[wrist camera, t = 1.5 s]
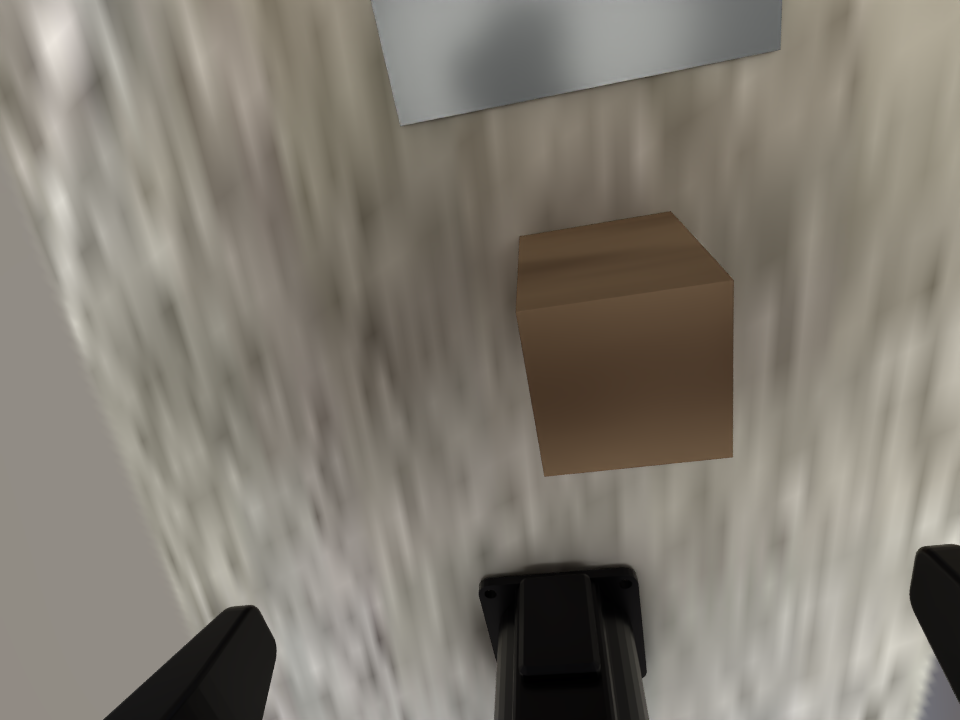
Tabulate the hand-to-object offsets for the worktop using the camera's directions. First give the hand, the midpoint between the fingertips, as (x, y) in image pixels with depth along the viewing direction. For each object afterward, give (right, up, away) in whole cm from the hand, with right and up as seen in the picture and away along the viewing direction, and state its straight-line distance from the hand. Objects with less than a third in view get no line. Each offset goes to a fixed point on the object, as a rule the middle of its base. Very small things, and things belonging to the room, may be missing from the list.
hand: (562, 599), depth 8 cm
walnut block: (+3, +5, +11) cm, 12 cm away
